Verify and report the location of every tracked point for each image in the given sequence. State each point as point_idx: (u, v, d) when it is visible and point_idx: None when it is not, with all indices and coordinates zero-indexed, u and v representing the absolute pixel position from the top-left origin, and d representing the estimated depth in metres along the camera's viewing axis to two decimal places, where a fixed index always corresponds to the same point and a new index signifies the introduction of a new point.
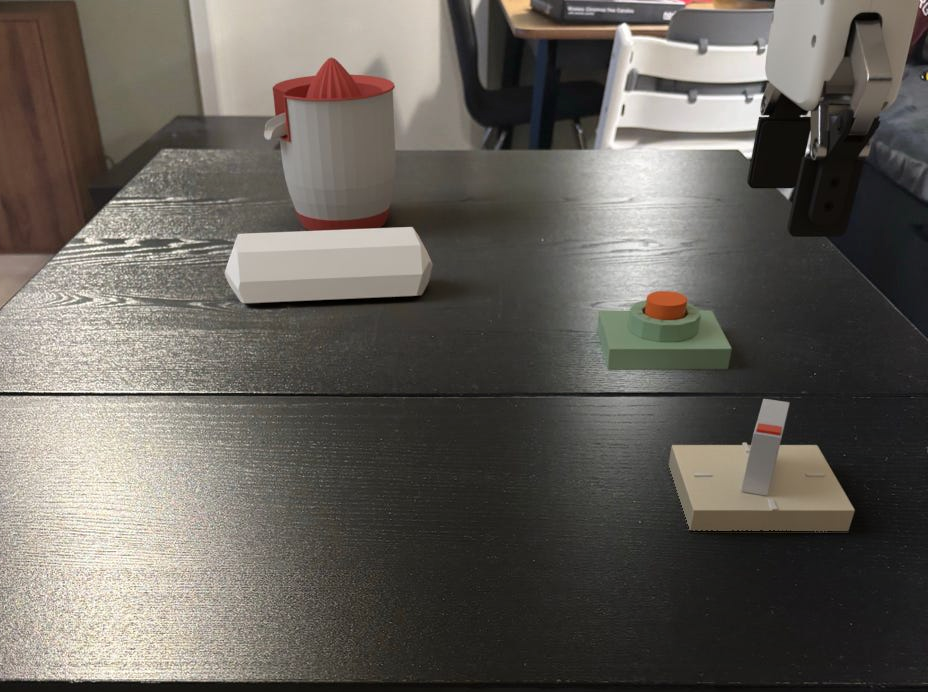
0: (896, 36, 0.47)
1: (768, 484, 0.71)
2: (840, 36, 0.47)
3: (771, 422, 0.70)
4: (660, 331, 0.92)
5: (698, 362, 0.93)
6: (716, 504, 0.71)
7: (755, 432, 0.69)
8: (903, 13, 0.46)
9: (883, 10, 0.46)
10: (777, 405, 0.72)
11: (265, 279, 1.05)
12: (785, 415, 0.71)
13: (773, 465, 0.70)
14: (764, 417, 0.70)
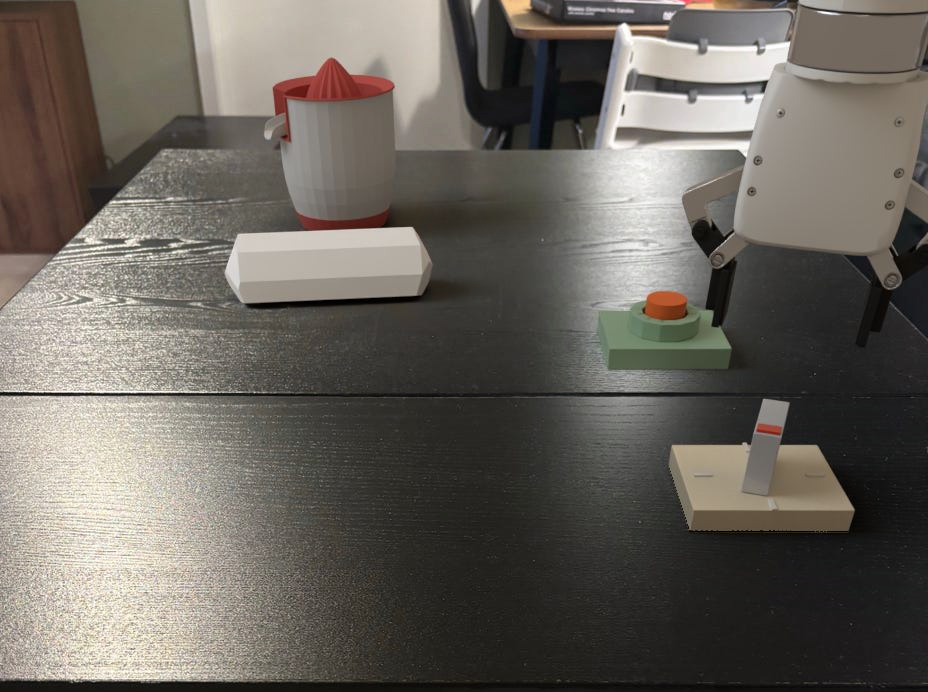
0: None
1: (768, 484, 0.71)
2: (907, 196, 0.57)
3: (771, 422, 0.70)
4: (660, 331, 0.92)
5: (698, 362, 0.93)
6: (716, 504, 0.71)
7: (755, 432, 0.69)
8: None
9: None
10: (777, 405, 0.72)
11: (265, 279, 1.05)
12: (785, 415, 0.71)
13: (773, 465, 0.70)
14: (764, 417, 0.70)
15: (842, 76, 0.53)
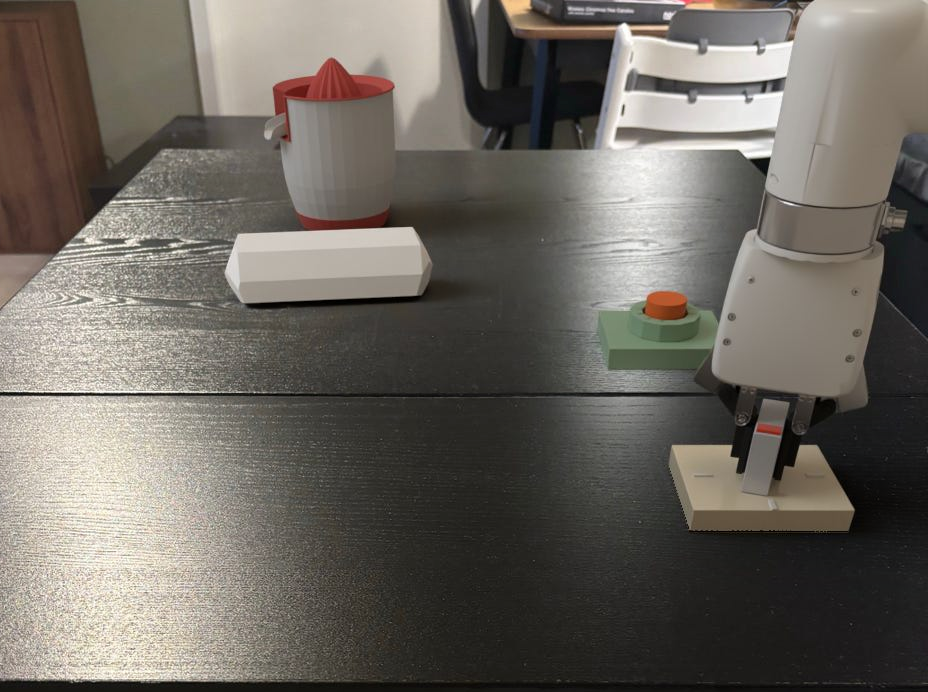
0: None
1: (768, 484, 0.71)
2: (865, 350, 0.64)
3: (771, 422, 0.70)
4: (660, 331, 0.92)
5: (698, 362, 0.93)
6: (716, 504, 0.71)
7: (755, 432, 0.69)
8: None
9: None
10: (777, 405, 0.72)
11: (265, 279, 1.05)
12: (785, 415, 0.71)
13: (773, 465, 0.70)
14: (764, 417, 0.70)
15: (803, 256, 0.60)
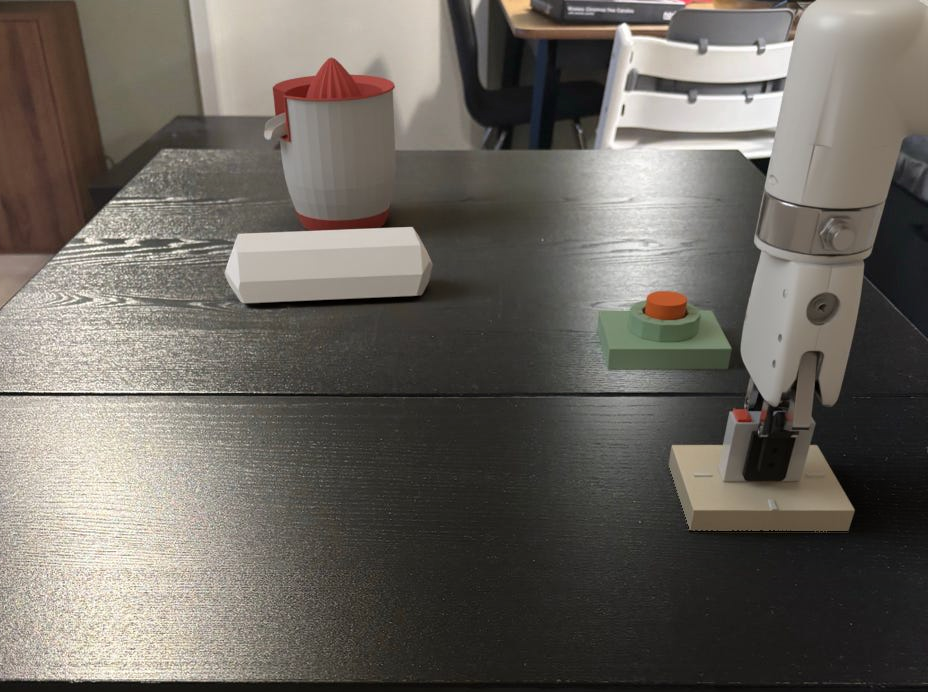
0: (835, 365, 0.63)
1: (725, 469, 0.72)
2: (793, 365, 0.63)
3: None
4: (660, 331, 0.92)
5: (698, 362, 0.93)
6: (716, 504, 0.71)
7: (731, 411, 0.71)
8: (839, 351, 0.62)
9: (825, 348, 0.62)
10: None
11: (265, 279, 1.05)
12: None
13: (729, 450, 0.71)
14: None
15: (755, 239, 0.62)
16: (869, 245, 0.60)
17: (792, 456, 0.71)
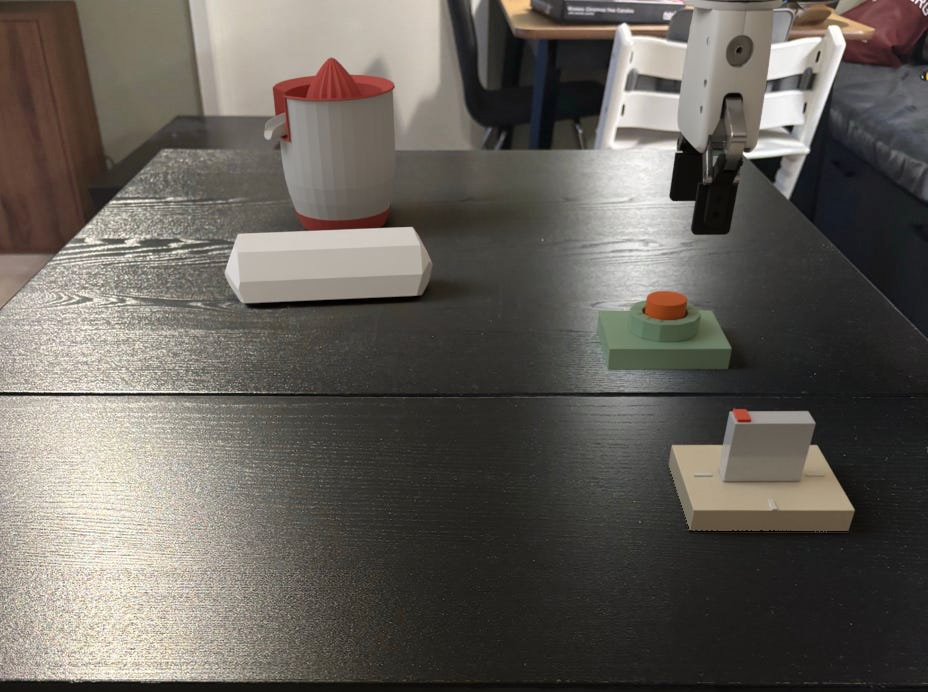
0: (752, 107, 0.73)
1: (725, 469, 0.72)
2: (717, 107, 0.73)
3: (760, 417, 0.70)
4: (660, 331, 0.92)
5: (698, 362, 0.93)
6: (716, 504, 0.71)
7: (731, 411, 0.71)
8: (755, 93, 0.73)
9: (743, 91, 0.73)
10: (801, 417, 0.70)
11: (265, 279, 1.05)
12: (783, 422, 0.70)
13: (729, 450, 0.71)
14: (766, 413, 0.71)
15: None
16: None
17: (792, 456, 0.71)
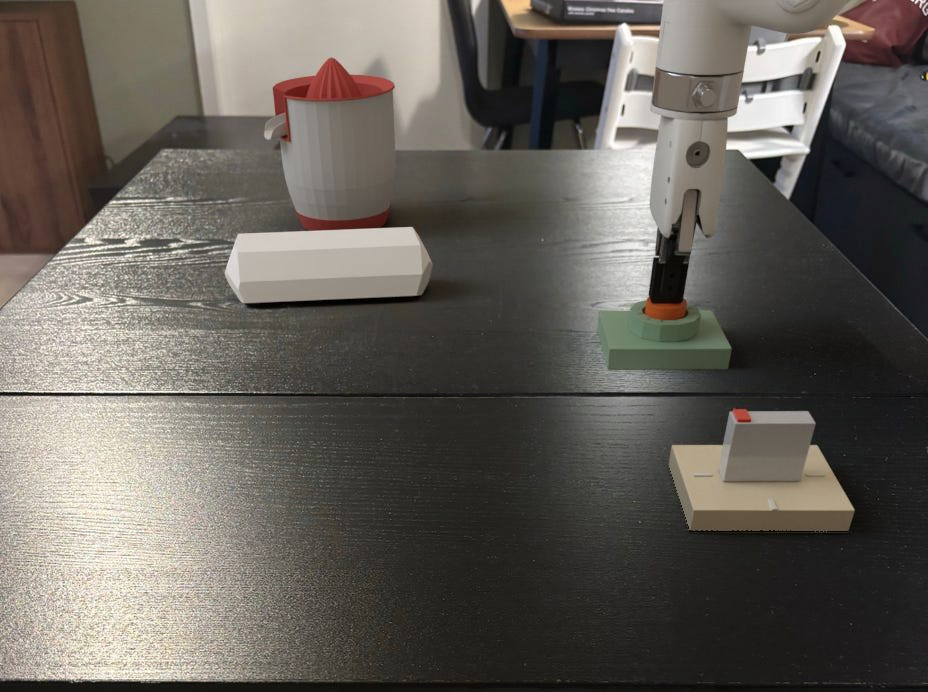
0: (710, 201, 0.83)
1: (725, 469, 0.72)
2: (679, 201, 0.83)
3: (760, 417, 0.70)
4: (660, 331, 0.92)
5: (698, 362, 0.93)
6: (716, 504, 0.71)
7: (731, 411, 0.71)
8: (712, 189, 0.83)
9: (701, 187, 0.83)
10: (801, 417, 0.70)
11: (265, 279, 1.05)
12: (783, 422, 0.70)
13: (729, 450, 0.71)
14: (766, 413, 0.71)
15: (651, 105, 0.83)
16: (732, 106, 0.81)
17: (792, 456, 0.71)
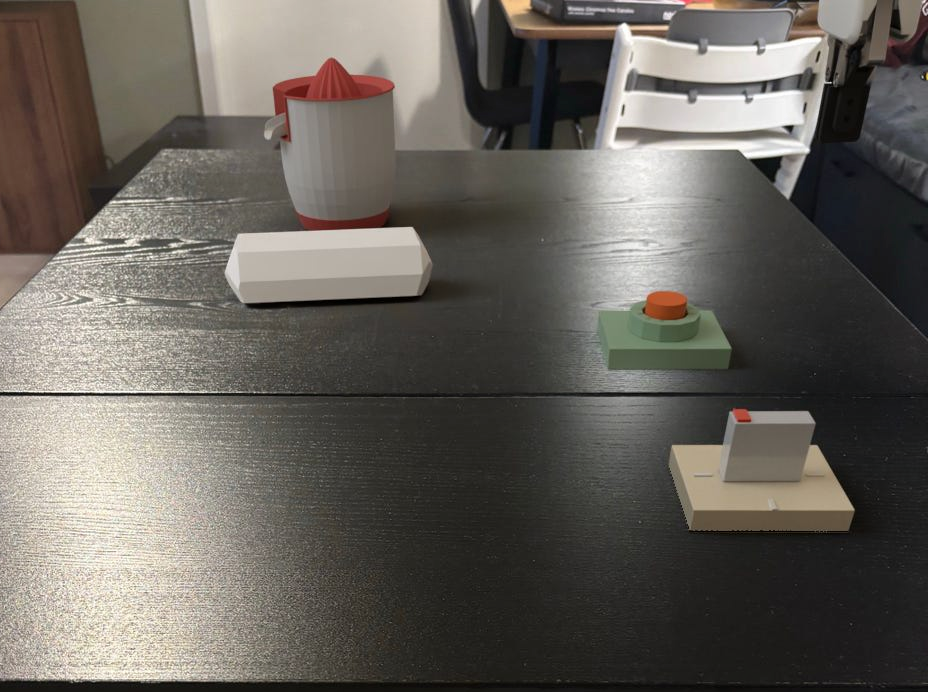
0: None
1: (725, 469, 0.72)
2: None
3: (760, 417, 0.70)
4: (660, 331, 0.92)
5: (698, 362, 0.93)
6: (716, 504, 0.71)
7: (731, 411, 0.71)
8: None
9: None
10: (801, 417, 0.70)
11: (265, 279, 1.05)
12: (783, 422, 0.70)
13: (729, 450, 0.71)
14: (766, 413, 0.71)
15: None
16: None
17: (792, 456, 0.71)
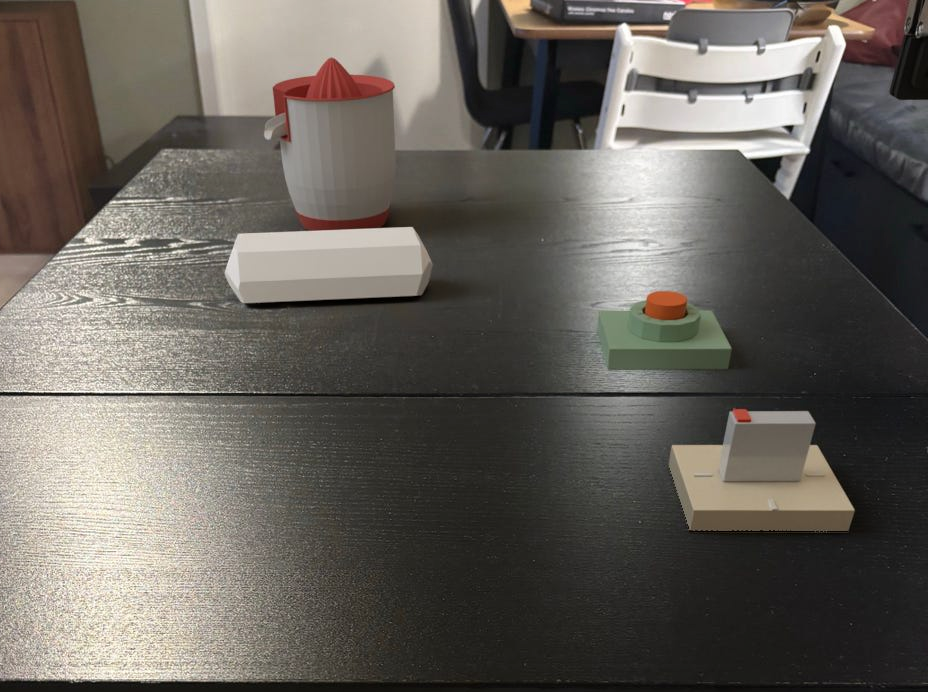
0: None
1: (725, 469, 0.72)
2: None
3: (760, 417, 0.70)
4: (660, 331, 0.92)
5: (698, 362, 0.93)
6: (716, 504, 0.71)
7: (731, 411, 0.71)
8: None
9: None
10: (801, 417, 0.70)
11: (265, 279, 1.05)
12: (783, 422, 0.70)
13: (729, 450, 0.71)
14: (766, 413, 0.71)
15: None
16: None
17: (792, 456, 0.71)
